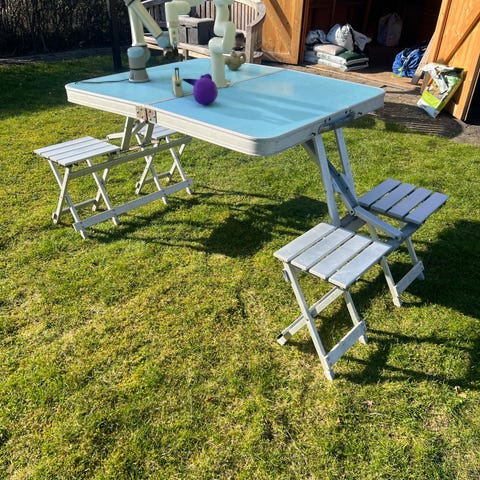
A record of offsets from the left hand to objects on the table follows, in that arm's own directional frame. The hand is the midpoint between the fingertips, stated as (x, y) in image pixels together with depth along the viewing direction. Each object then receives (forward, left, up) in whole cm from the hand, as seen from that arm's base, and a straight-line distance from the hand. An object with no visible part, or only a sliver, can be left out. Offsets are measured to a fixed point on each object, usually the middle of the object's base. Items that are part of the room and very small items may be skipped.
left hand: (171, 60), depth 315 cm
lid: (-2, -28, -8) cm, 30 cm away
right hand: (-3, -35, +8) cm, 36 cm away
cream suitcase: (-2, -28, -17) cm, 33 cm away
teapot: (+58, +41, -17) cm, 73 cm away
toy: (+7, -59, -17) cm, 62 cm away
